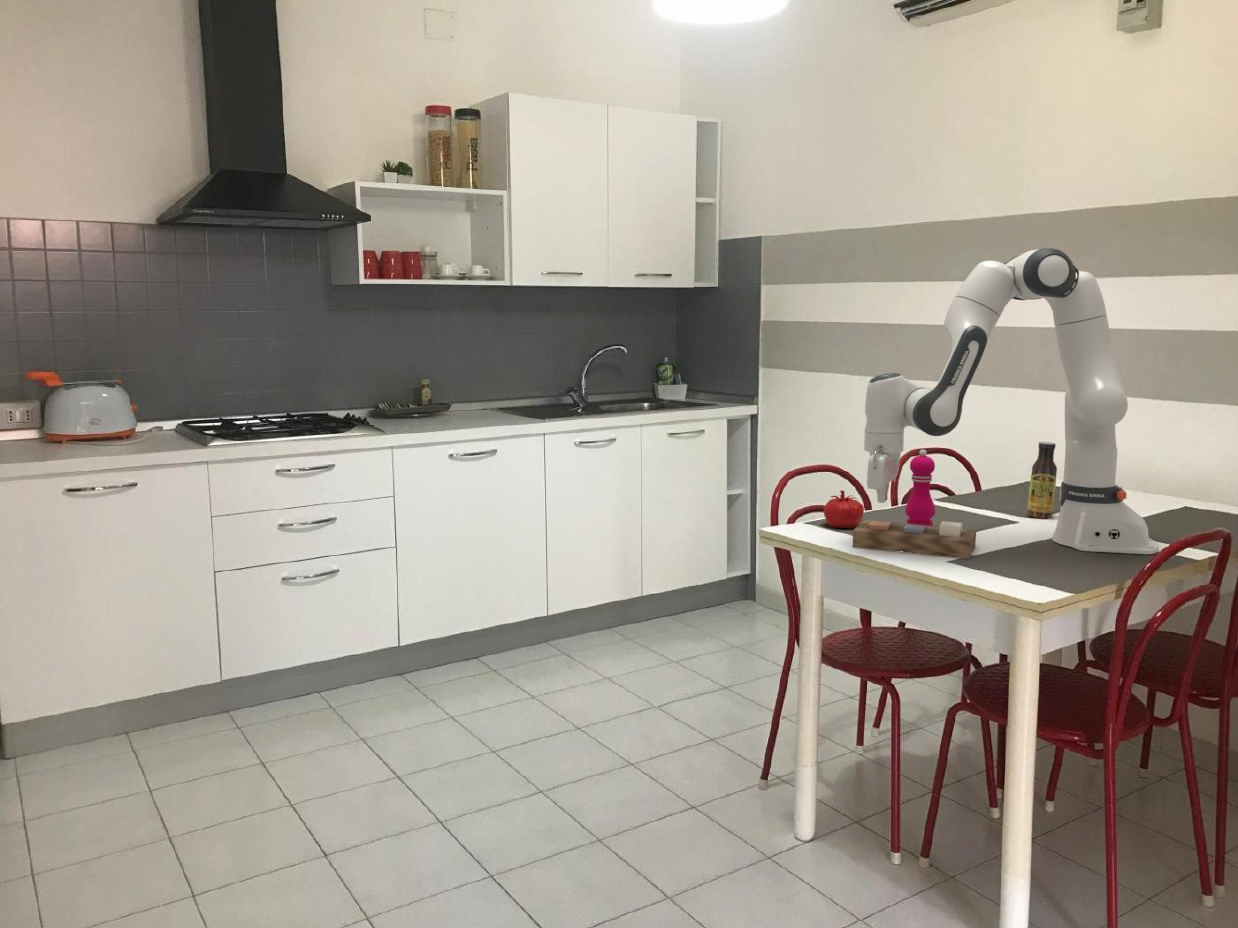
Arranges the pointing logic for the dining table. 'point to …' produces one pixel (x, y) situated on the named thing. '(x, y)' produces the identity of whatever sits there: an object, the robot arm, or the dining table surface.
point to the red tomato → (843, 512)
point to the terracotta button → (880, 525)
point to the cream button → (950, 529)
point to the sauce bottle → (1042, 483)
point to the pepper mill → (921, 491)
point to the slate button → (914, 528)
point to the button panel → (915, 540)
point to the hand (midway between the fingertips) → (882, 501)
